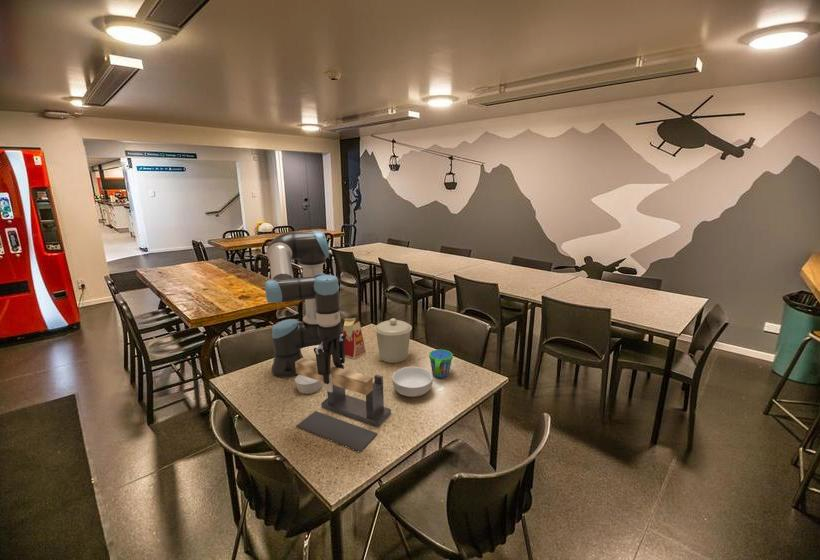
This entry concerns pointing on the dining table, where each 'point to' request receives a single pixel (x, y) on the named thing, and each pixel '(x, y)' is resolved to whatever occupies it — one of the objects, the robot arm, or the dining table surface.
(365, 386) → the maple rail
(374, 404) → the stand
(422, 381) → the cereal bowl
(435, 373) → the snack cup
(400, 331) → the canister
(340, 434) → the black rubber mat
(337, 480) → the dining table surface
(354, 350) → the milk carton
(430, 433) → the dining table surface
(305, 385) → the ramekin
